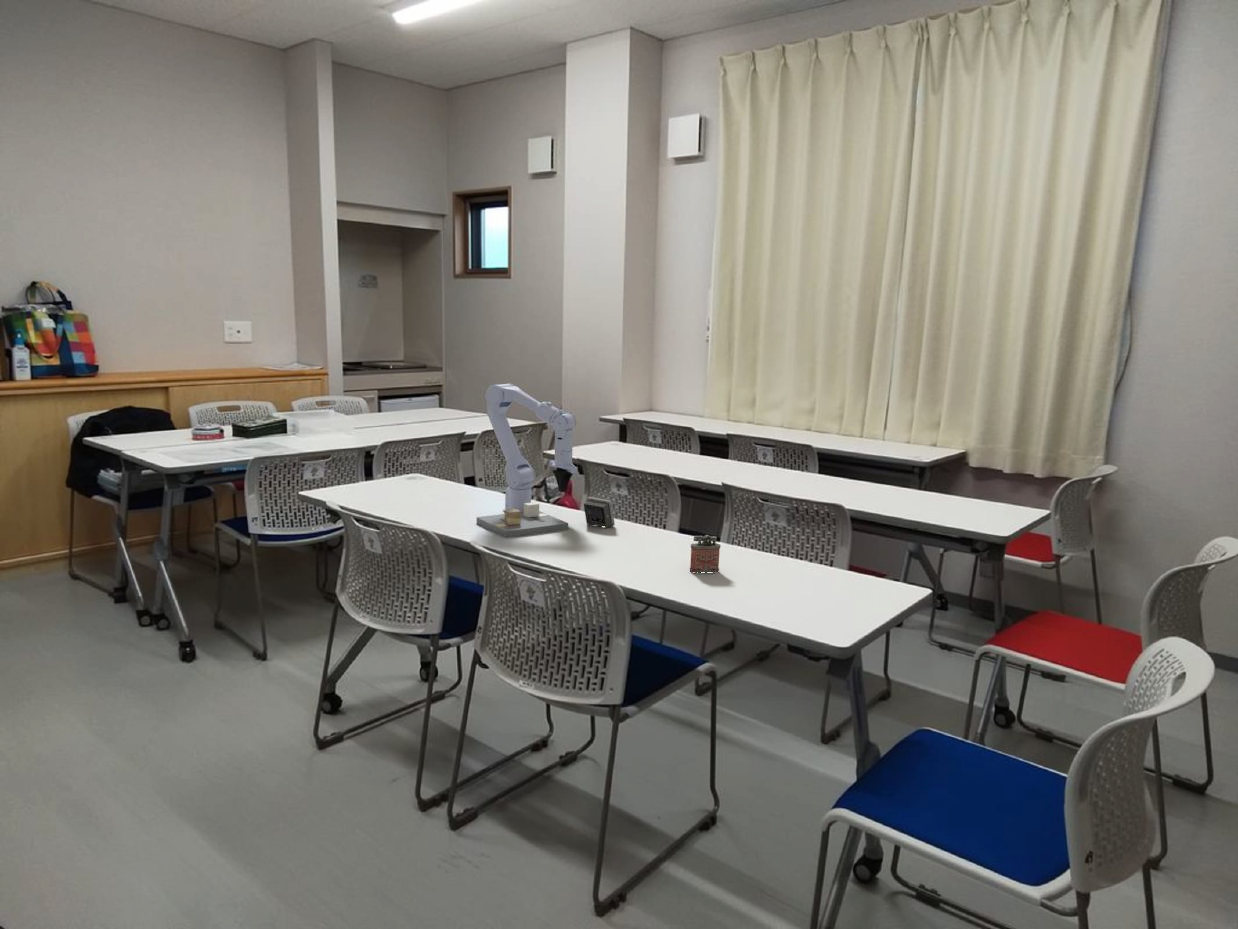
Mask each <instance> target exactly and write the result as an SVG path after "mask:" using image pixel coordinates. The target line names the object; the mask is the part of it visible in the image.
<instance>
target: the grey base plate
mask: <svg viewBox="0 0 1238 929" xmlns="http://www.w3.org/2000/svg"><path fill="white" fill-rule="evenodd" d="M477 523H478V524H477ZM476 524H477V525H480V526H481V527H483V526H484V527H483V528H485V529H486V530H489V531H490V532H493V533H495V534H497V535H499V536H501V537H503V538H505V539H507V538H515V537H516V538H517V537H522V536H530V535H535V534H536V535H537V533H538V534H543V533H551V532H558V531H565V530H569V522H567V521H564V520H561V519H559V518H557V517H555V516H553V515H550V514H547V513H545V512H543V511H540V510H539V516H536V517H526V516H524V512H521V524H515V525H507V524H505V513H500V514H493V515H484V516H477V517H476Z"/></svg>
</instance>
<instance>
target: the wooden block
mask: <svg viewBox="0 0 1238 929" xmlns="http://www.w3.org/2000/svg"><path fill="white" fill-rule="evenodd" d="M504 514H505V524H507V525H515V524H521V511H519V510H517V509H514V510H505V511H504Z"/></svg>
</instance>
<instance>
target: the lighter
mask: <svg viewBox="0 0 1238 929" xmlns="http://www.w3.org/2000/svg"><path fill="white" fill-rule="evenodd" d="M693 541H694V542H695V543H691V544H690V566H689V570H690V572H696V573H697V572H698V573H701V572H705V573H707V572H718V571H719V572H720V568H719V566H720V551H721V550H720V549H721V544H720V543H717V536H714V535H713V536H710V535H709V534H705V535H704V536H703V535H694V536H693ZM690 572H689V573H690Z"/></svg>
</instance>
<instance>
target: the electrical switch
mask: <svg viewBox="0 0 1238 929" xmlns="http://www.w3.org/2000/svg"><path fill="white" fill-rule="evenodd" d="M583 509H584V514H585V515H584V516H585V521H586V525H587V524H588V525H587V526H591V525H599V526H605V527H606V528H605V529H607V528H610V526H613V527H615V517H614V510H613V503H612V500H609V499H604V498H597V497H593V496H588V497H586V501H585V502H584V503H583Z"/></svg>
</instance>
